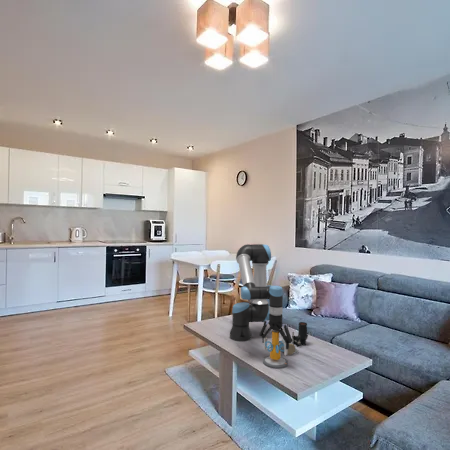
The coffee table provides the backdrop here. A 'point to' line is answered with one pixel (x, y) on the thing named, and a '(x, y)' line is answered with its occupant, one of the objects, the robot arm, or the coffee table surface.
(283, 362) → the plate
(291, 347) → the ceramic mug
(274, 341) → the cylinder
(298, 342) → the scope
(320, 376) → the coffee table surface
